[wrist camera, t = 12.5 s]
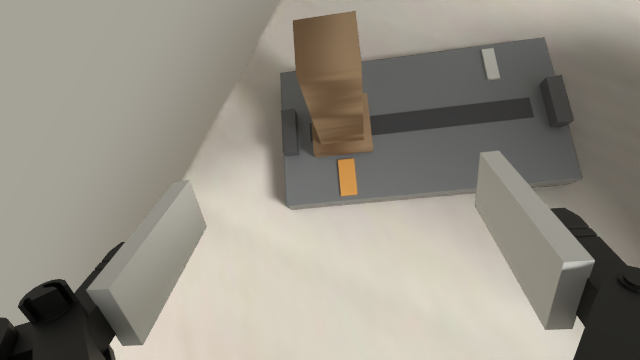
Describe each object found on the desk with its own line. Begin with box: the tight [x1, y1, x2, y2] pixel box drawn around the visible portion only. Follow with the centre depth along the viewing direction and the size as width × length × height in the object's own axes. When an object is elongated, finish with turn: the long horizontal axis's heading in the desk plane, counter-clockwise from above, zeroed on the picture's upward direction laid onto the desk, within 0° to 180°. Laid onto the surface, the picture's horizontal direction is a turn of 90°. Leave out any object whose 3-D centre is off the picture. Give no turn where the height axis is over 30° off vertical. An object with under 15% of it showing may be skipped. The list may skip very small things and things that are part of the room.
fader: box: [293, 11, 373, 158], centre depth 26 cm, size 5×5×12 cm
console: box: [280, 37, 582, 210], centre depth 31 cm, size 24×13×3 cm, turn 94°
